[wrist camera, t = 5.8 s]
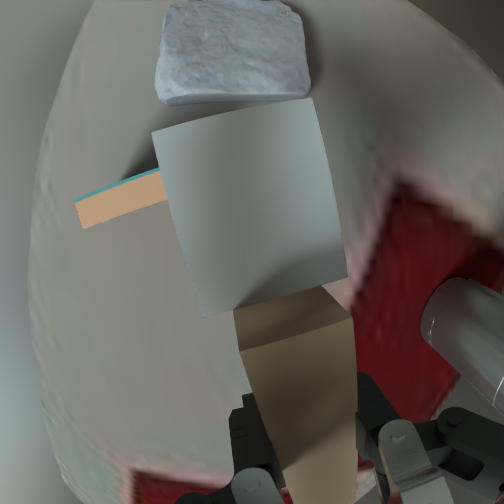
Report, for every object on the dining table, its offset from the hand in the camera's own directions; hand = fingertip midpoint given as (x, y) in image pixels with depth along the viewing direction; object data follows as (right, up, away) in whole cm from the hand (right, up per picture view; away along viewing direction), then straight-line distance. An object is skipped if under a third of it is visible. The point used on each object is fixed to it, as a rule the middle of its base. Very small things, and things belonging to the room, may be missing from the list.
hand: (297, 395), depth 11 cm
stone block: (-4, +23, +9) cm, 25 cm away
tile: (-10, +11, +11) cm, 19 cm away
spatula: (0, +2, 0) cm, 2 cm away
